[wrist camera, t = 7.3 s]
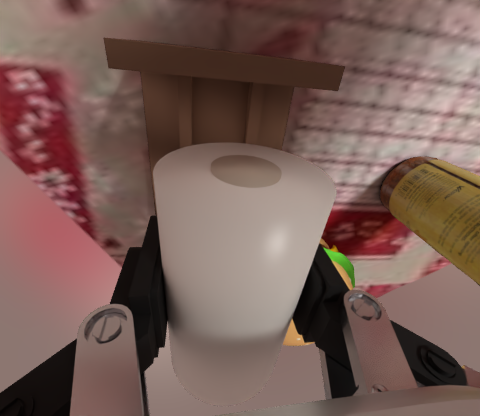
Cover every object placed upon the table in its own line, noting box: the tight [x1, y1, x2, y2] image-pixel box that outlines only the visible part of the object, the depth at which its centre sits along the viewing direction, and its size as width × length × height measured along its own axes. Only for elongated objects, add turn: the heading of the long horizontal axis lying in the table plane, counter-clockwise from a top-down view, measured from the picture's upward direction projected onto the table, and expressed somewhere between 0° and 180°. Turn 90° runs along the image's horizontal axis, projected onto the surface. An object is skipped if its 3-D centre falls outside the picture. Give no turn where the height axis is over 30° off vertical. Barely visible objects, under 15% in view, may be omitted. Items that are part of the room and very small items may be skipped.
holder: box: [104, 38, 345, 216], centre depth 17 cm, size 14×10×7 cm
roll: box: [153, 143, 336, 406], centre depth 9 cm, size 9×5×5 cm, turn 174°
